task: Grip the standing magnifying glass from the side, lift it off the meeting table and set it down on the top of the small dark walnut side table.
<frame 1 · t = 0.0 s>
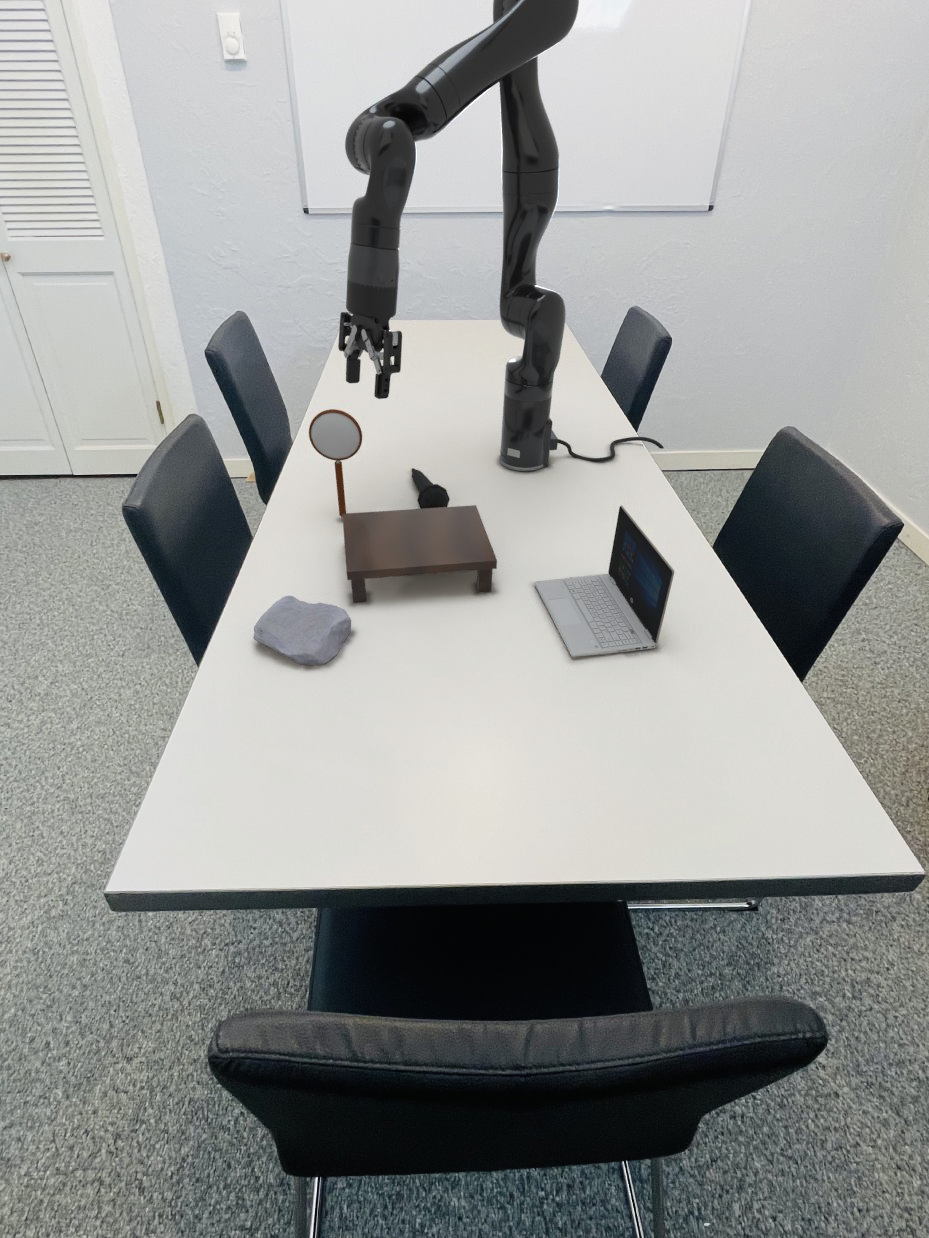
hand: (366, 390, 114), 22 cm above the table, tool pointing down, fingers open, 8 cm apart
magnifying glass: (343, 521, 125), on the table
stone block: (301, 642, 99), on the table
laptop: (591, 616, 105), on the table
microphone: (428, 496, 133), on the table
walnut table: (416, 568, 114), on the table
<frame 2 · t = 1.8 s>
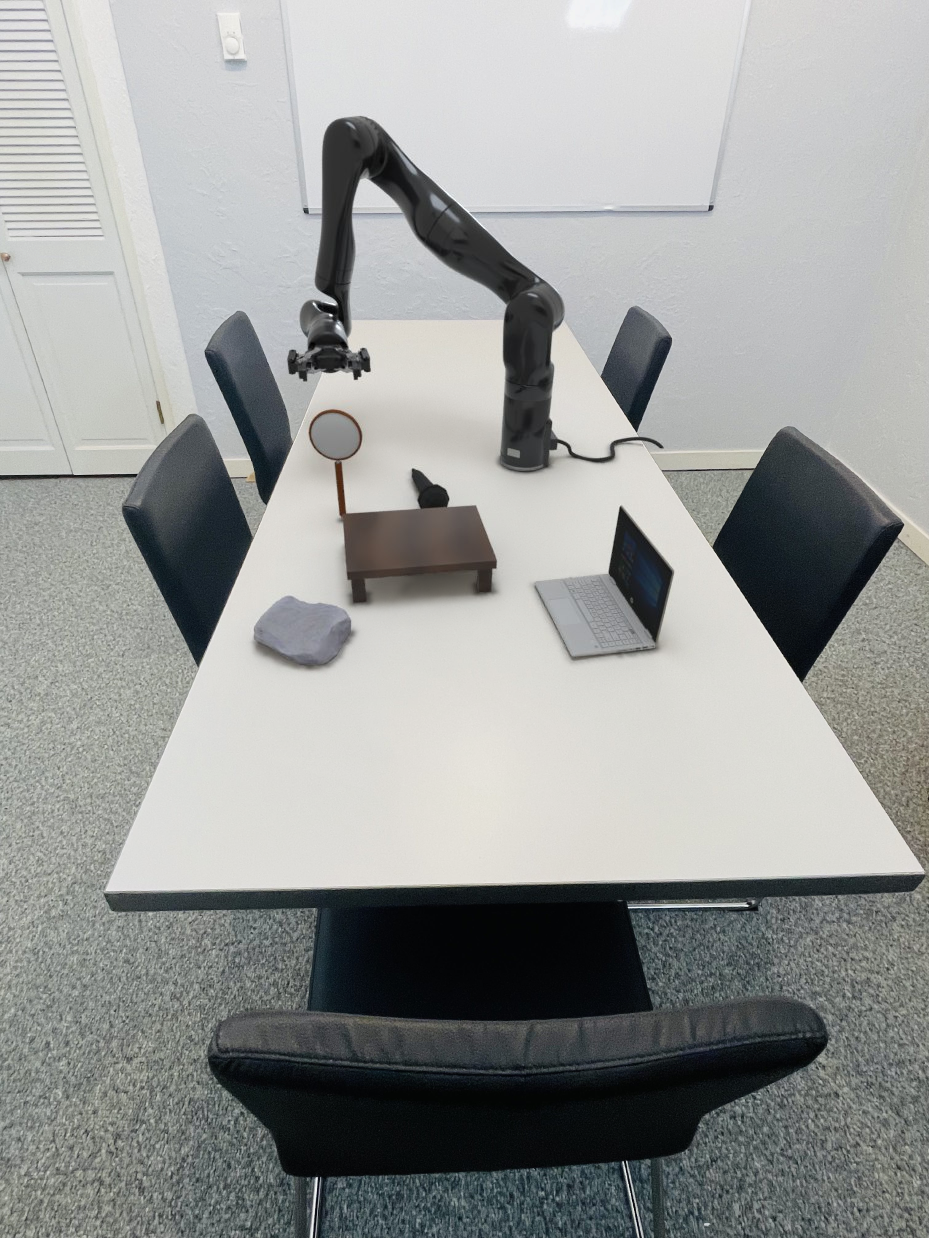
hand: (330, 375, 120), 22 cm above the table, tool horizontal, fingers open, 8 cm apart
nothing on the table moved.
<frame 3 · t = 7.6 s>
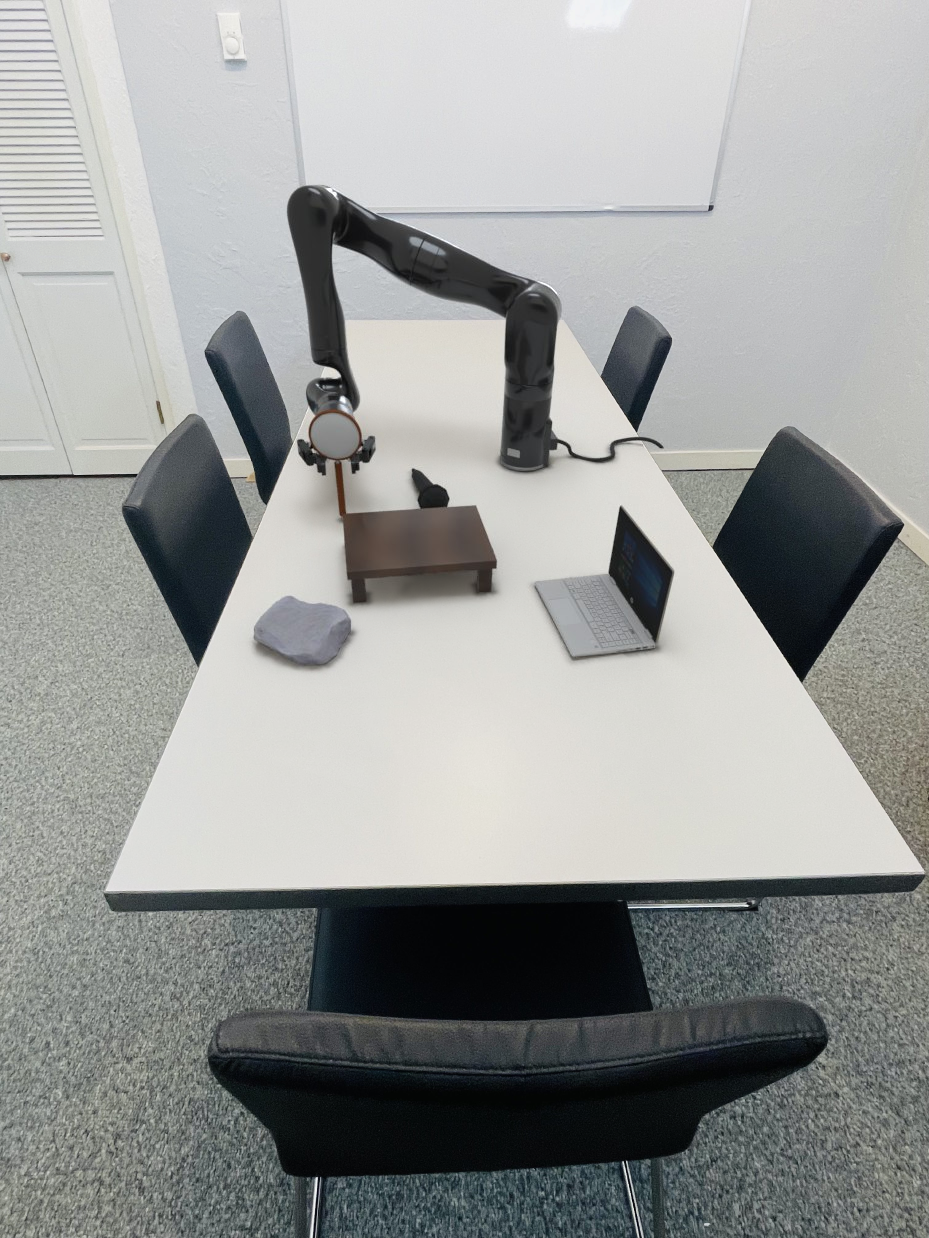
hand: (338, 469, 116), 11 cm above the table, tool horizontal, fingers closed on magnifying glass, 4 cm apart
magnifying glass: (343, 521, 125), on the table, touching gripper
everything else where it was.
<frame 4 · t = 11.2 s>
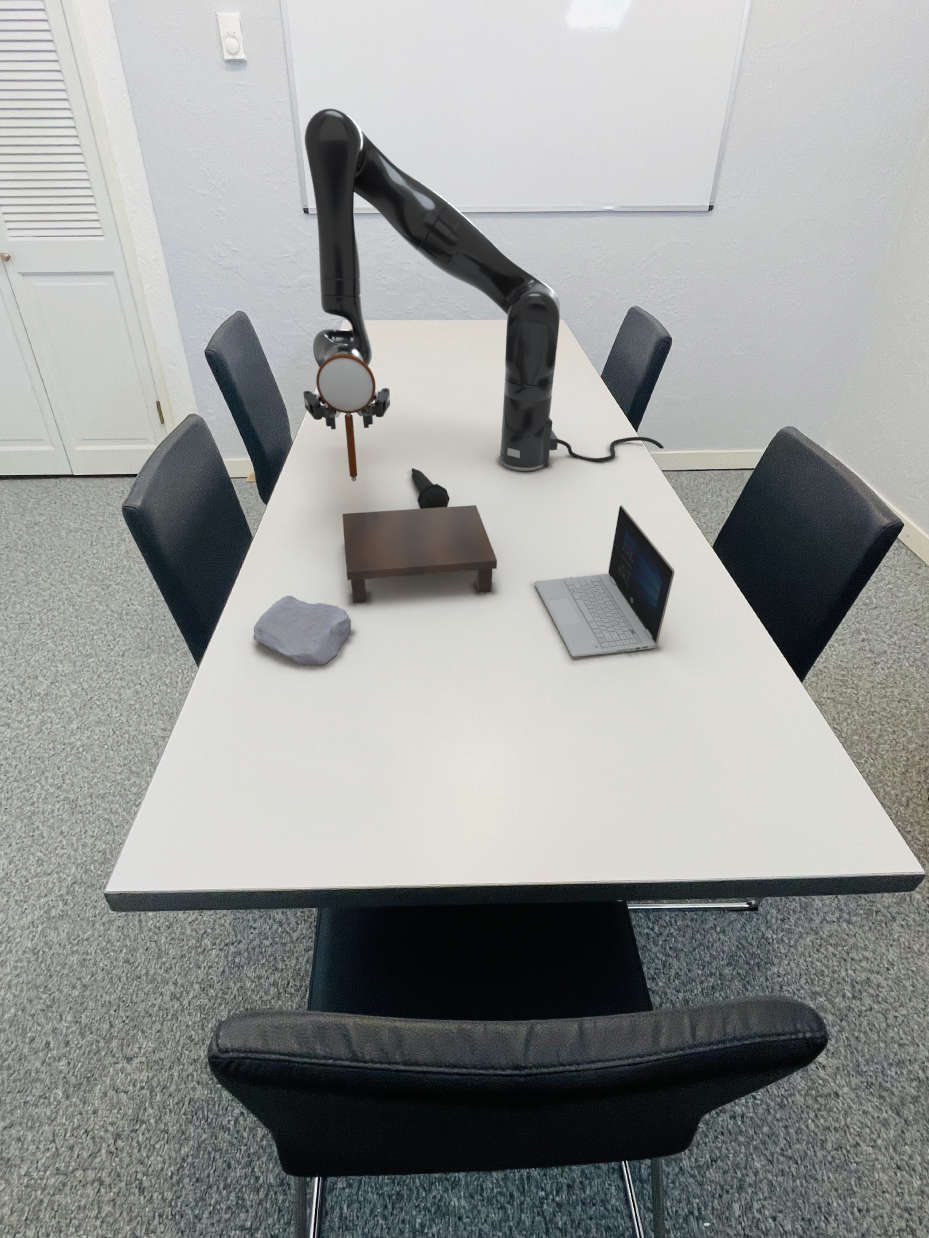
hand: (349, 422, 105), 22 cm above the table, tool horizontal, fingers closed on magnifying glass, 4 cm apart
magnifying glass: (354, 482, 114), point 10 cm above the table, touching gripper
everything else where it was.
when the fingers open (17 cm above the table, at t = 15.1 s): magnifying glass stays where it is, point 6 cm above the table.
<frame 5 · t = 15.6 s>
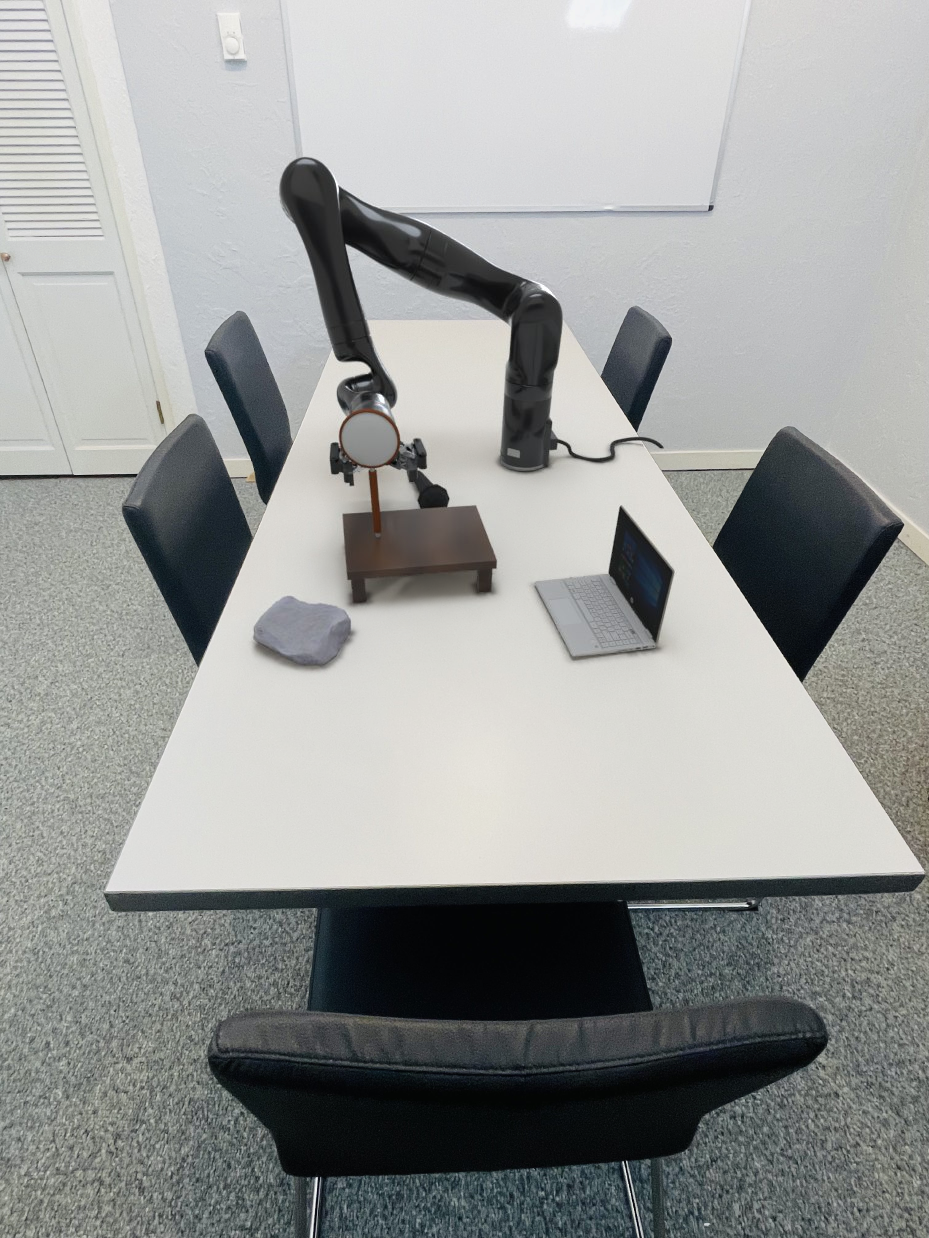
hand: (381, 478, 101), 17 cm above the table, tool horizontal, fingers open, 8 cm apart
magnifying glass: (378, 538, 109), point 6 cm above the table, touching gripper
everything else where it was.
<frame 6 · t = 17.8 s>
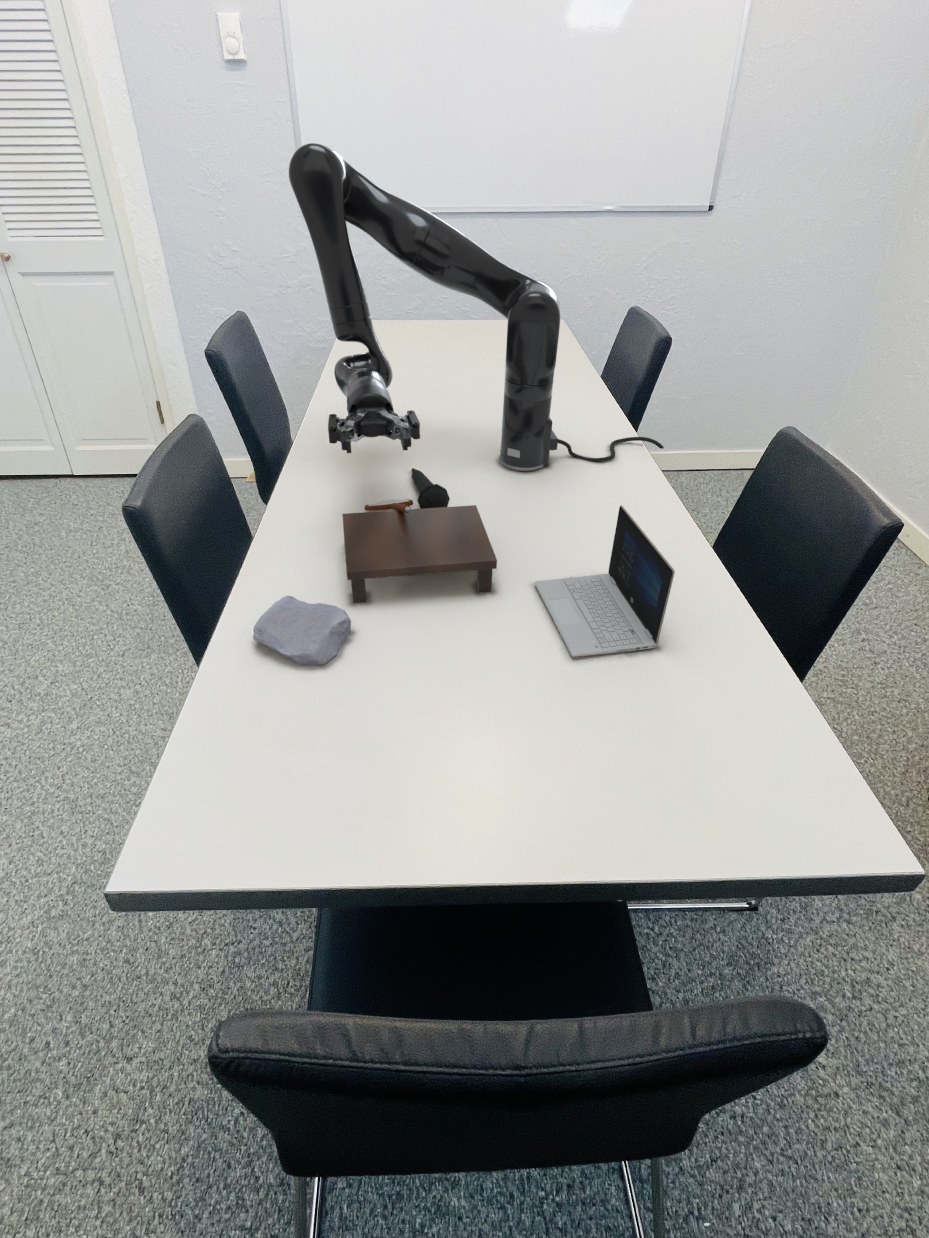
hand: (377, 446, 107), 18 cm above the table, tool horizontal, fingers open, 8 cm apart
magnifying glass: (408, 509, 110), point 9 cm above the table, touching walnut table
everything else where it was.
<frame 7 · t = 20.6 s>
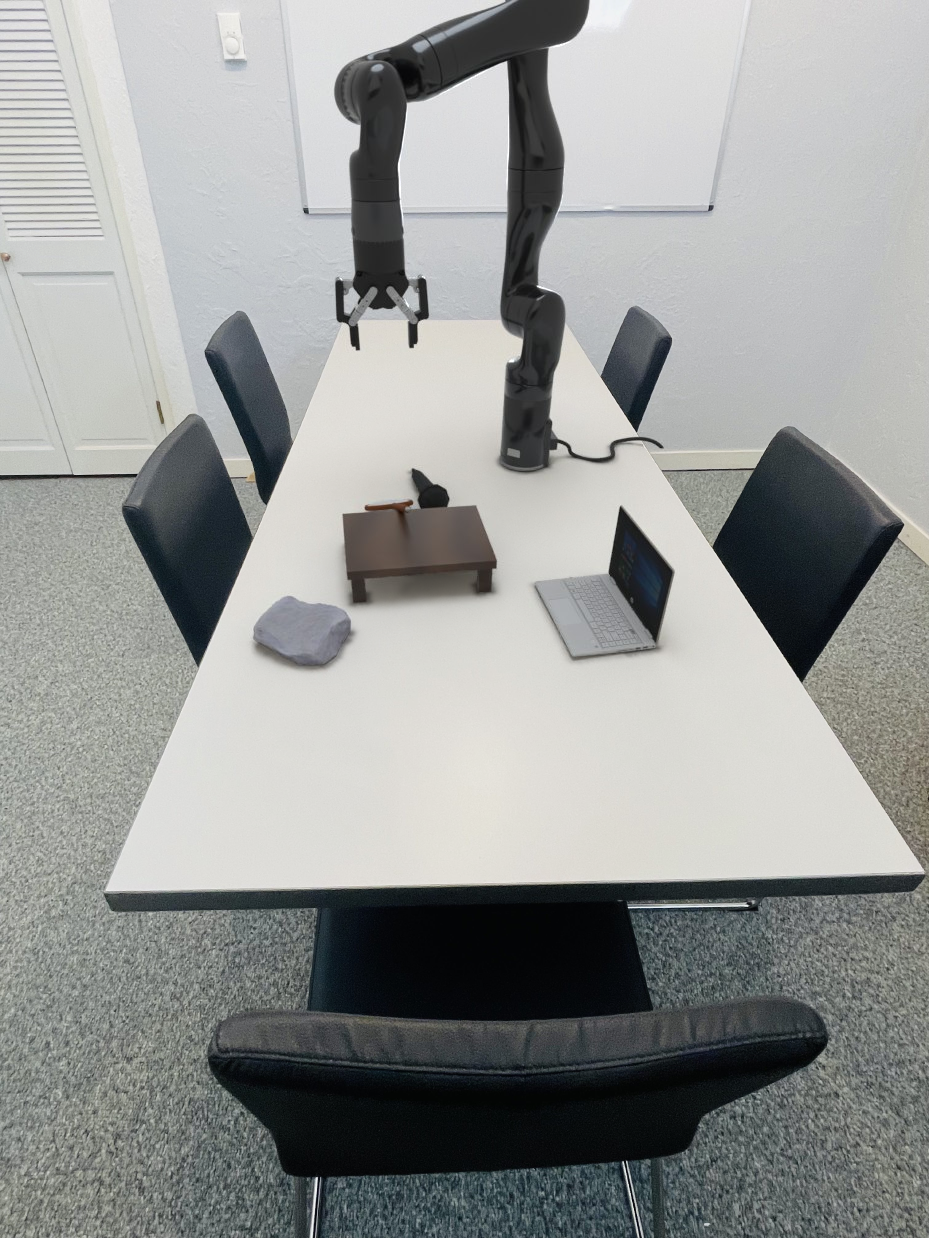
hand: (384, 348, 114), 28 cm above the table, tool pointing down, fingers open, 8 cm apart
nothing on the table moved.
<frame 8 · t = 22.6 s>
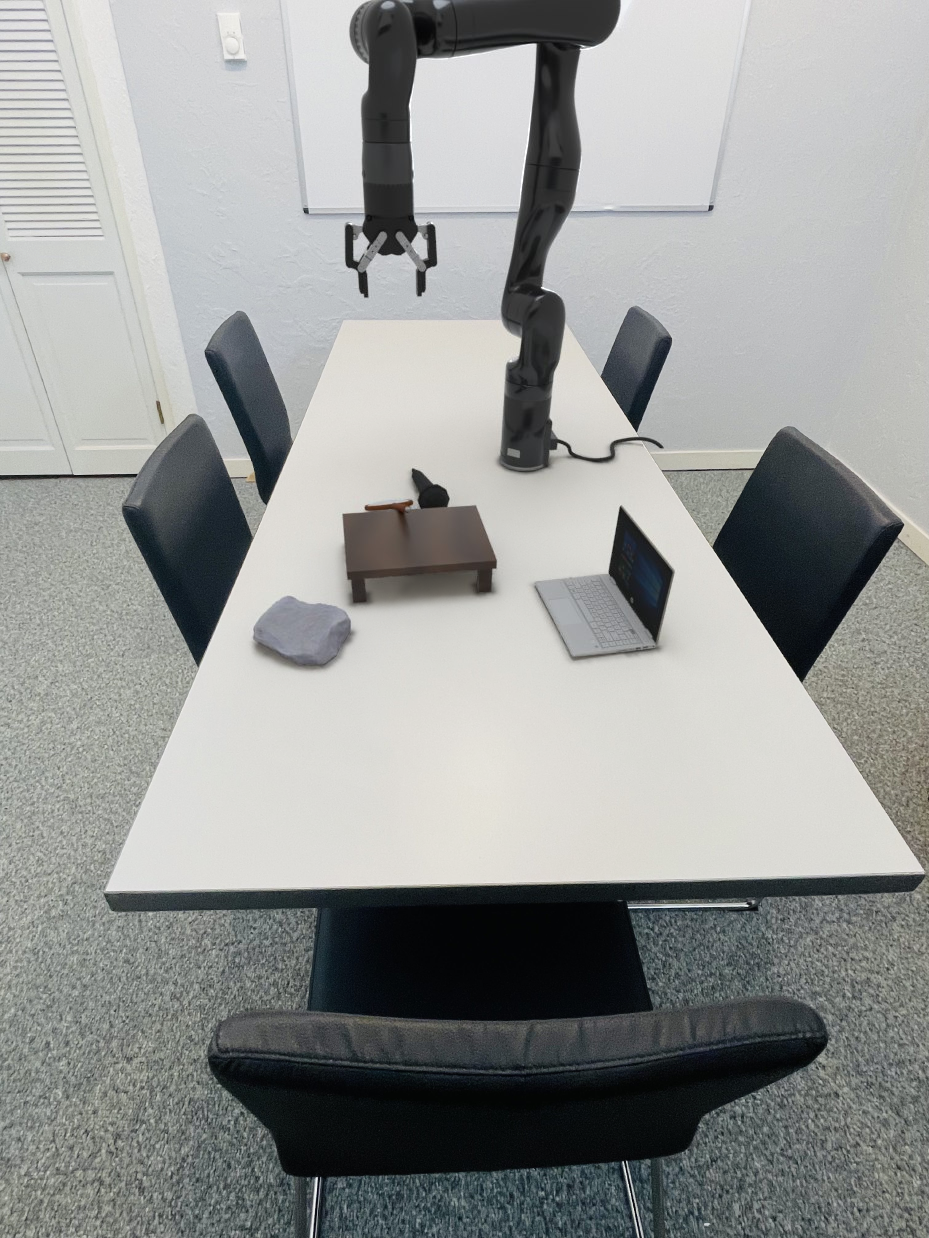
hand: (392, 296, 115), 34 cm above the table, tool pointing down, fingers open, 8 cm apart
nothing on the table moved.
at the end: magnifying glass inside the target area on the walnut table (3.2 cm from its centre), point 9.0 cm above the walnut table's base; the gripper is holding nothing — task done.
